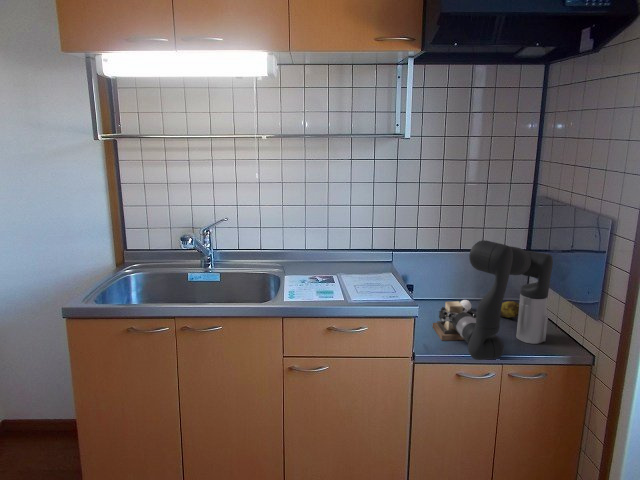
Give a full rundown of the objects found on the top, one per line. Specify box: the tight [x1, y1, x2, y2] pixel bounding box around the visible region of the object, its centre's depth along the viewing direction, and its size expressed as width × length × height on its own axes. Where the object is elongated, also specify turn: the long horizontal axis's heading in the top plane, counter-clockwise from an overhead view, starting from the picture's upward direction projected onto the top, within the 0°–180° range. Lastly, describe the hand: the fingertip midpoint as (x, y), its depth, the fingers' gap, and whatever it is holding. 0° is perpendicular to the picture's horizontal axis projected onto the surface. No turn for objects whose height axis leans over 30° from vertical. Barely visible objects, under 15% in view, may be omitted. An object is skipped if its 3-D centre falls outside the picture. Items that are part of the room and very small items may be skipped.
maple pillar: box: [444, 300, 463, 330], centre depth 185 cm, size 5×5×10 cm
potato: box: [500, 300, 519, 318], centre depth 200 cm, size 8×13×8 cm, turn 17°
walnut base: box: [432, 320, 466, 342], centre depth 187 cm, size 12×12×3 cm
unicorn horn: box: [459, 299, 472, 311], centre depth 202 cm, size 5×24×5 cm, turn 136°
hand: (451, 309), depth 187 cm, fingers open, 6 cm apart
